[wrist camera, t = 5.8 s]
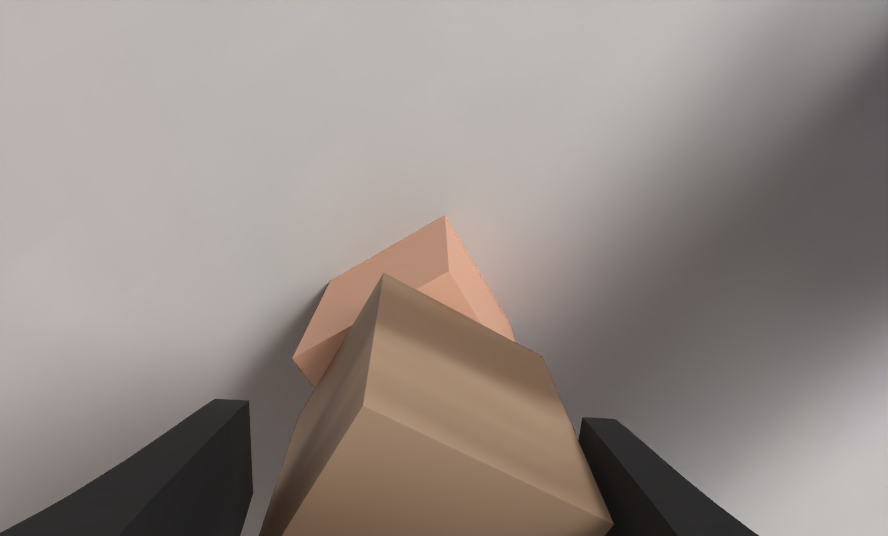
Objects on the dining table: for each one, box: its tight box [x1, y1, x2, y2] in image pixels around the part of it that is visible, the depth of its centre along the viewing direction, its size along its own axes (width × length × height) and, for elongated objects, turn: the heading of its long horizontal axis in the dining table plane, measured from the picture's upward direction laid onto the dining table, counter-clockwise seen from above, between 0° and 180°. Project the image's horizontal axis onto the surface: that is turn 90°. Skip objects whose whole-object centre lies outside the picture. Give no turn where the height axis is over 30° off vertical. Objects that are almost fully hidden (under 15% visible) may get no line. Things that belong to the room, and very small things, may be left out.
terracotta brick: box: [292, 216, 515, 388], centre depth 16 cm, size 4×4×5 cm
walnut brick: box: [259, 273, 614, 536], centre depth 11 cm, size 4×4×5 cm
